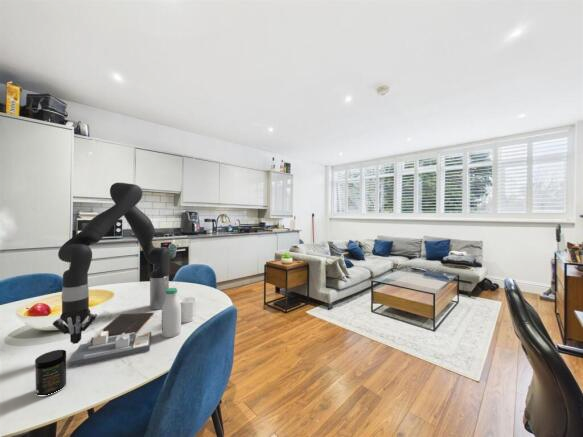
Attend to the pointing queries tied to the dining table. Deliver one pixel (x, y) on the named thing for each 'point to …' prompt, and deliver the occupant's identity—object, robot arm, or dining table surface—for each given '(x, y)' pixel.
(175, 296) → the milk bottle
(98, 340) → the cream tab
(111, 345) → the switch panel
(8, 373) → the dining table surface
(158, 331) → the dining table surface
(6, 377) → the dining table surface
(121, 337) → the white block with rib
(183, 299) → the white cup
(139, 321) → the hardcover book
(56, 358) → the supplement container
